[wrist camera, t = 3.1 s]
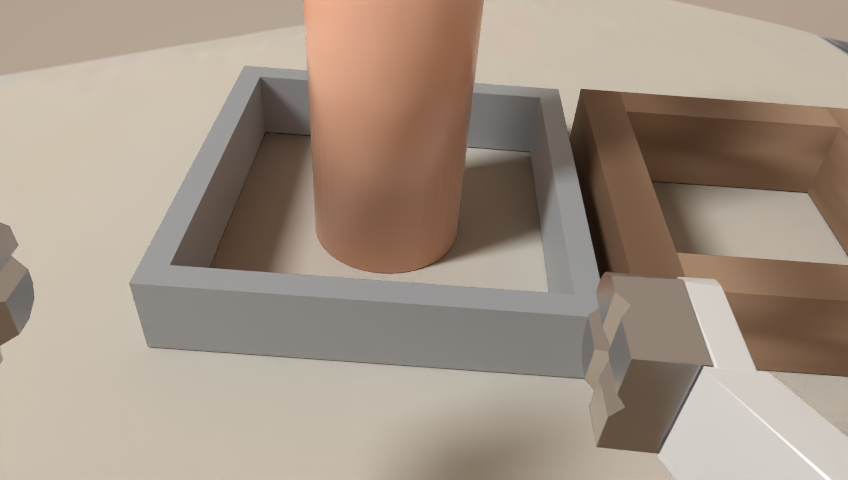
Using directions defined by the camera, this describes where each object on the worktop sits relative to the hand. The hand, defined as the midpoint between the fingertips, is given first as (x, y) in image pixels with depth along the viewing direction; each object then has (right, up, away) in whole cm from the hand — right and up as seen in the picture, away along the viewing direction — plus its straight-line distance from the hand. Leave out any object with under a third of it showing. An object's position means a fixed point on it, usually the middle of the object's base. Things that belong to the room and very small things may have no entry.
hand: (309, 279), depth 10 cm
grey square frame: (0, +1, +15) cm, 15 cm away
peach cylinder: (0, +1, +15) cm, 15 cm away
